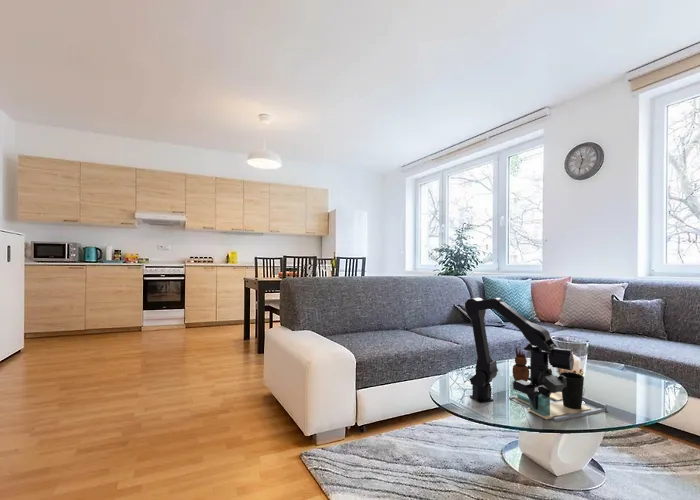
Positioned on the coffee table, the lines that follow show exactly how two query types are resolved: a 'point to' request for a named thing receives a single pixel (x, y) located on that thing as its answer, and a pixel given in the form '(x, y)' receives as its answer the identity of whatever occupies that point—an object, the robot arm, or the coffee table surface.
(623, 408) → the coffee table surface
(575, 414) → the lane board
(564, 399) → the cup
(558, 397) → the broken strip
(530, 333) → the robot arm
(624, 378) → the coffee table surface
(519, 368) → the wooden figurine
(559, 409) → the teal block on board
